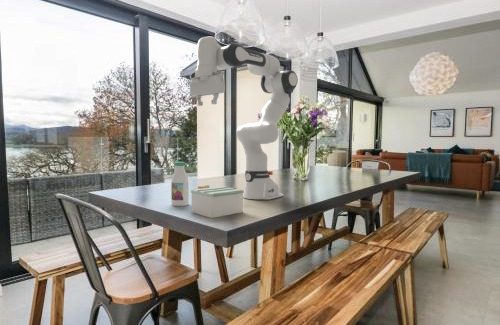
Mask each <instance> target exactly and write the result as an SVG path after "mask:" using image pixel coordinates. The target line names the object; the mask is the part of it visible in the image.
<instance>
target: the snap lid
mask: <svg viewBox="0 0 500 325" xmlns="http://www.w3.org/2000/svg"><path fill="white" fill-rule="evenodd" d="M244 190H245V189H239V188H237V187H230V186H223V185H222V186H216V187H215V186H214V187H210V185H209V184H207V185H200V186H199V185H198V186H197V188H196V189H190V193H191V194H192V193H194V194H199V195H203V196H208V197H217V196H225V195H232V194H240V193H243V194H244Z"/></svg>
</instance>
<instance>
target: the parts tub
mask: <svg viewBox="0 0 500 325" xmlns="http://www.w3.org/2000/svg"><path fill="white" fill-rule="evenodd" d="M243 195H244V193H240V194H232V195H225V196H217V197H208V196H203V195H199V194H194V193H191V212H192V213H194V214H197V215H199V216H200V215H201V216H204V217H207V218H210V219H212V218H213V219H214V218H219V217H224V216H230V215H234V214H239V213H240V214H241V213H244V212H243V211H244V210H243V209H244V204H243V203H244V200H243V199H244V198H243Z"/></svg>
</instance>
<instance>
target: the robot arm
mask: <svg viewBox="0 0 500 325" xmlns="http://www.w3.org/2000/svg"><path fill="white" fill-rule="evenodd" d="M216 39H217V38H216V37H215V36H209V35H208V36H204V37H201V38H199V39H198V42H197V47H196V48H197V49H196V58H197V64H196V69H195V70H194V71H193V72H192V73H190V75H189V79H190V81H189V82H190V83H189V93H190V95H191V97H195V99H196V102H197V106H199V107H203V105H204V102H203V100H202V97H204V96H211V95H212V96H213V98H212V99H211V105H217V103H218V102H217V101H218V99H219V97H220V96H219V94H224V93H225V91H226V83H225V78H224V73H223V72H222V71H224V70H229V69H231V68H238V67H241V66H243V65H247V70H248V72H250V74H252V75H256V76H261V77H260V87H261V89H262V91H263V92H264V93H266V94H271V97H270V98H269V99H268V100H267V102H266V103H264V106H263V107H262V108H261V110H260V111H259V121H257V122H246V123H244V124H241V125H239V126H238V127H237V129H236V137H237V139H238V141H239V142H240V143H241V145H242V147H243V149H244V153H245V172H244V176H245V184H244V189H243V190H244V193H243V199H247V200H248V199H249V200H272V199H276V198H280V197H284V194H283V193H281V192H280V187H279V185H278V183H277V182H275V181H274V180H273V179H272V178H271V176H273V175H274V172H273V171H272V170H268V155H267V153H266V152H265V151H263V149H262V145H267V144H271V143H274V142H276V141H277V140H278V137H279V134H280V132H279V127H278V123H279V121H280V120H281V119H282V117H283V115H284V114H285V112H286V111H287V109H288V106H289V105H290V101H291V98H290V96H289V95H291V94H293V93H294V90H295V89H296V87H297V84H298V76H297V73H296V71H293V70H290V69H285V70H281V69H280V68H281V63H280V61H279V59H278V58H277V57H275V56H274V55H270V54H268V53H262V52H258V51H255V50H250V49H248V48H246V47H245V46H243V45H242V44H240V43H238V42H233V43H230V44H228V45H226V46H222V45H221V44H220V43H219V42H218V41H217V40H216Z"/></svg>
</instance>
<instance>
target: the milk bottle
mask: <svg viewBox="0 0 500 325" xmlns="http://www.w3.org/2000/svg"><path fill="white" fill-rule="evenodd" d="M185 167H186V162H184V161H175V162H174V172H173V173H172V177H171V185H170V186H171V188H170V189H171V206H174V207H185V206H188V205H189V204H190V203H189V200H190V199H189V196H190V194H189V190H190V189H189V176H188V175H187V172H186V169H185Z"/></svg>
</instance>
